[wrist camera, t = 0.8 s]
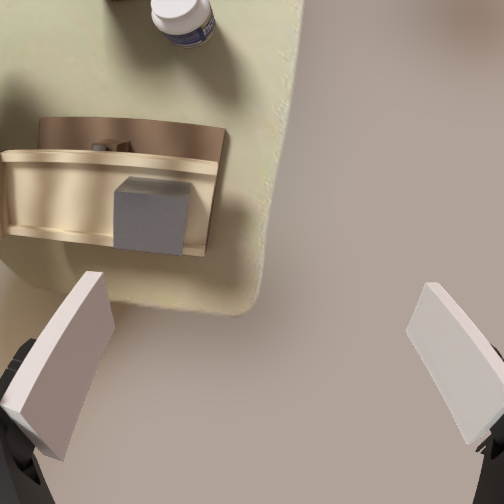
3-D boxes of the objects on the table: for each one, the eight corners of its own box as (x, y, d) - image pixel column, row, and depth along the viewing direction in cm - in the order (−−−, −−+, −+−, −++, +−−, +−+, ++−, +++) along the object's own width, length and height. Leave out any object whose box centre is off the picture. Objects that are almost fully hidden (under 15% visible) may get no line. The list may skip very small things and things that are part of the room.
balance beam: (17, 225, 28) (-2, 241, 24) (13, 143, 24) (-10, 151, 20) (204, 245, 33) (203, 266, 29) (217, 155, 28) (219, 163, 24)
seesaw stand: (44, 223, 35) (25, 238, 30) (44, 117, 28) (22, 121, 24) (206, 249, 38) (201, 269, 33) (225, 128, 31) (222, 131, 27)
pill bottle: (217, 45, 27) (208, 20, 18) (169, 52, 27) (142, 32, 18) (214, 5, 24) (205, -30, 15) (167, 12, 24) (142, -18, 15)
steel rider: (126, 225, 28) (113, 248, 23) (129, 176, 26) (114, 190, 21) (185, 231, 29) (181, 255, 25) (191, 182, 27) (188, 198, 22)
